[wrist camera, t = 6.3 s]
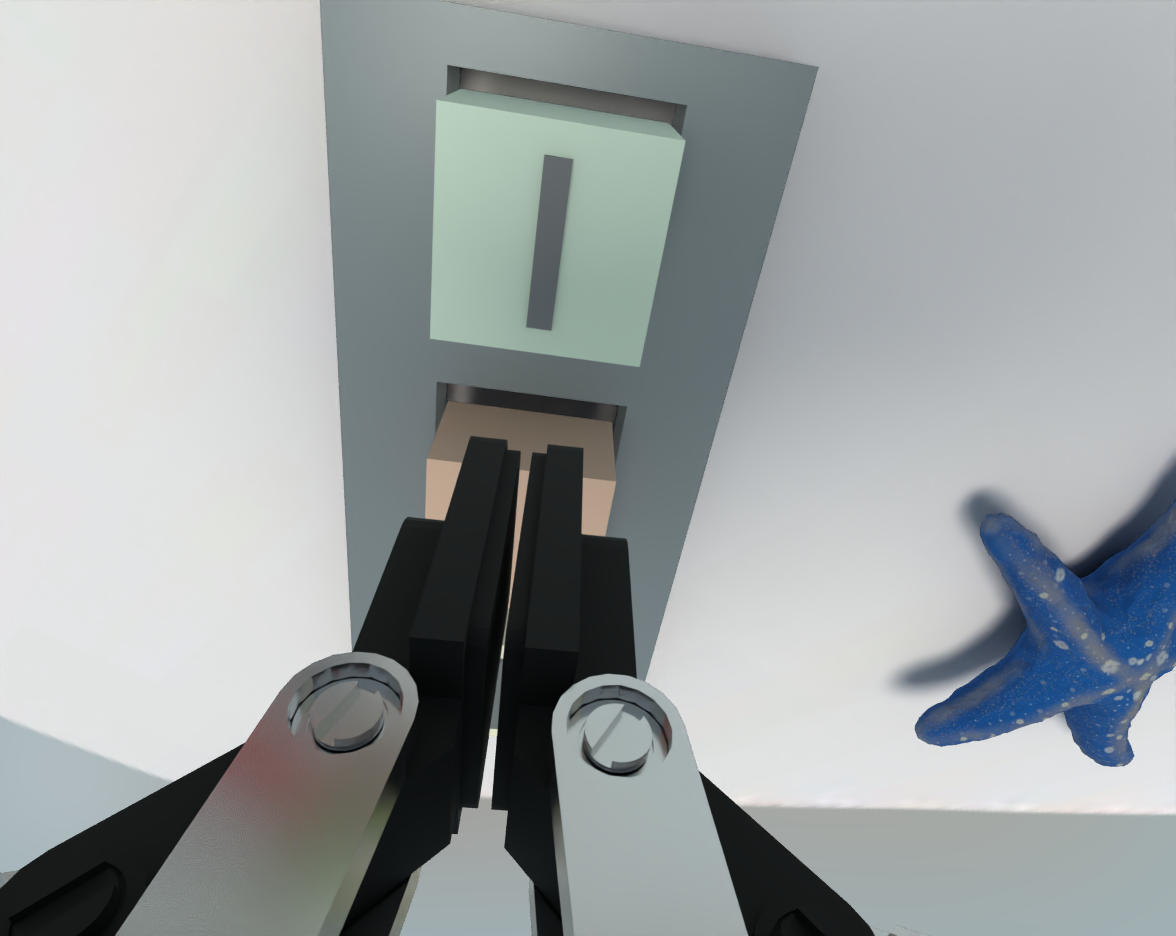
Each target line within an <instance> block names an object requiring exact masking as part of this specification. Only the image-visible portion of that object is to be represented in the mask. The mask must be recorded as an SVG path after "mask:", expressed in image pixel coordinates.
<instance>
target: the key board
mask: <svg viewBox="0 0 1176 936" xmlns="http://www.w3.org/2000/svg"><path fill="white" fill-rule="evenodd" d="M320 14H321V34H322V54H323V75H324V95H325V115H326V135H327V155H328V175H329V196H330V216H331V236H332V256H333V276H334V296H335V317H336V337H337V357H338V377H339V397H340V417H341V438H342V458H343V478H344V498H345V518H346V538H347V558H348V579H349V599H350V619H351V639H352V651H353V649H354V646H355V644H356V641H357V639H358V636H359V633H360V631H361V628H362V626H363V623H364V621H365V618H366V615H367V613H368V610H369V608H370V605H371V603H372V600H373V597H374V595H375V592H376V590H377V587H378V585H379V582H380V579H381V577H382V574H383V572H384V569H385V567H386V564H387V561H388V559H389V556H390V554H391V551H392V549H393V546H394V543H395V541H396V538H397V536H398V533H399V531H400V528H401V526H402V524H403V522H404V520H405V519H406V518H407V517H415V518H425V504H426V467H427V457H428V454H429V451H430V448H431V446H432V443H433V440H434V438H435V435H436V432H437V430H438V427H439V424H440V421H441V419H442V416H443V413H444V411H445V408H446V395H447V383H450V384H458V385H466V386H473V387H481V388H488V389H496V390H504V391H511V392H519V393H527V394H534V395H542V396H550V397H557V398H565V399H573V400H580V401H588V402H595V403H603V404H611V405H618V411H617V416H616V422H615V427H614V432H613V443H614V457H615V471H616V485H615V490H614V495H613V500H612V505H611V510H610V515H609V520H608V525H607V530H606V534H605V536H606V537H616V538H626V539H627V542H628V550H629V565H630V580H631V595H632V610H633V625H634V640H635V655H636V670H637V679H639V680H642V681H644V682H645V679H646V676H647V672H648V669H649V665H650V662H651V658H652V655H653V651H654V648H655V644H656V640H657V637H658V633H659V630H660V626H661V623H662V619H663V616H664V612H665V609H666V605H667V602H668V598H669V594H670V591H671V587H672V584H673V580H674V577H675V573H676V570H677V566H678V563H679V559H680V556H681V552H682V549H683V545H684V541H685V538H686V534H687V531H688V527H689V524H690V520H691V517H692V513H693V510H694V506H695V503H696V499H697V495H698V492H699V488H700V485H701V481H702V478H703V474H704V471H705V467H706V464H707V460H708V457H709V453H710V449H711V446H712V442H713V439H714V435H715V432H716V428H717V425H718V421H719V418H720V414H721V411H722V407H723V404H724V400H725V396H726V393H727V389H728V386H729V382H730V379H731V375H732V372H733V368H734V365H735V361H736V358H737V354H738V350H739V347H740V343H741V340H742V336H743V333H744V329H745V326H746V322H747V319H748V315H749V312H750V308H751V304H752V301H753V297H754V294H755V290H756V287H757V283H758V280H759V276H760V273H761V269H762V266H763V262H764V259H765V255H766V251H767V248H768V244H769V241H770V237H771V234H772V230H773V227H774V223H775V220H776V216H777V213H778V209H779V205H780V202H781V198H782V195H783V191H784V188H785V184H786V181H787V177H788V174H789V170H790V167H791V163H792V159H793V156H794V152H795V149H796V145H797V142H798V138H799V135H800V131H801V128H802V124H803V121H804V117H805V114H806V110H807V106H808V103H809V99H810V96H811V92H812V89H813V85H814V82H815V78H816V75H817V71H818V68H819V67H815V66H810V65H804V64H798V63H793V62H787V61H781V60H776V59H770V58H764V57H759V56H753V55H747V54H742V53H736V52H730V51H725V50H719V49H713V48H708V47H702V46H696V45H691V44H685V43H679V42H674V41H668V40H662V39H656V38H651V37H645V36H639V35H634V34H628V33H622V32H617V31H611V30H605V29H600V28H594V27H588V26H583V25H577V24H571V23H566V22H560V21H554V20H549V19H543V18H537V17H532V16H526V15H520V14H515V13H509V12H503V11H498V10H492V9H486V8H481V7H475V6H469V5H464V4H458V3H452V2H446V1H441V0H320ZM460 67H463V68H469V69H475V70H481V71H487V72H492V73H498V74H504V75H510V76H516V77H522V78H528V79H534V80H540V81H546V82H552V83H558V84H564V85H570V86H575V87H581V88H587V89H593V90H599V91H605V92H611V93H617V94H623V95H629V96H635V97H641V98H647V99H653V100H658V101H664V102H670V103H676V109H675V115H674V120H673V125H672V127H673V128H674V129H675V130H676V131H677V132H678V133H679V134H680V135H681V137H682V138H683V139H684V140H685V141H686V142H685V147H684V151H683V156H682V161H681V166H680V171H679V176H678V181H677V186H676V191H675V196H674V201H673V205H672V210H671V215H670V220H669V225H668V230H667V235H666V240H665V245H664V250H663V255H662V259H661V264H660V269H659V274H658V279H657V284H656V289H655V294H654V299H653V304H652V309H651V313H650V318H649V323H648V328H647V333H646V338H645V343H644V348H643V353H642V358H641V363H640V367H635V366H628V365H620V364H613V363H606V362H598V361H591V360H584V359H576V358H569V357H562V356H554V355H547V354H539V353H532V352H525V351H517V350H510V349H503V348H495V347H488V346H481V345H473V344H466V343H459V342H451V341H444V340H436V339H430V319H431V282H432V245H433V208H434V171H435V134H436V100H437V99H440V98H442V97H444V96H446V95H449V94H451V93H453V92H455V91H458V90H460Z"/></svg>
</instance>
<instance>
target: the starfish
mask: <svg viewBox="0 0 1176 936" xmlns="http://www.w3.org/2000/svg"><path fill="white" fill-rule="evenodd" d="M980 536H981V538H982V541H983V544H984V546H985V548H986V550H987V552H988V554H989V555H990V556H991V557H992V559H993V560H994V561H995V562H996V564H997V565H998V567H999V568H1000V570H1001V573H1002V576H1003V578H1004V579H1005V581H1006V582H1007V584H1008V585H1009V586H1010V588H1011V589H1012V591H1013V593H1014V596H1015V598H1016V600H1017V602H1018V603H1019V605H1020V608H1021V610H1022V612H1023V615H1024V617H1025V619H1026V623H1027V627H1026V629H1025V631H1024V632H1022V633H1021V635H1020V638H1019V639H1018V640H1017V642H1016V643H1015V644H1014V646H1013V647H1012V648H1011V650H1010V651H1009V652H1008V654H1007V655H1006V656H1005V657H1004V658H1003V659H1002V660H1000V661H999V662H998V663H997V664H996V665H994V666H991V667H989V668H987V669H986V670H985V671H983V672H982V673H981V674H980V675H978V676H977V677H976V678H974V679H973V680H972V681H970V682H969V683H968V684H966V685H964V686H962V687H960V688H958V689H956V690H955V691H954V692H953V694H952V695H951V696H950V697H949V698H948V699H946V700H945V701H943V702H940V703H938V704H936V705H934V706H932V707H930V708H929V709H928V710H926V711H925V712H924V713H923V714H922V716H921V717H920V718H919V719H918V721H917V723H916V725H915V731H916V734H917V737H918V738H919V739H921V740H922V741H924V742H926V743H928V744H933V745H937V746H941V747H942V746H947V745H957V744H961V743H967V742H971V741H980V740H985V739H989V738H992V737H995V736H998V735H1000V734H1003V733H1008V732H1011V731H1013V730H1015V729H1018V728H1021V727H1024V726H1027V725H1030V724H1033V723H1038V722H1042V721H1043V720H1045V719H1047V718H1050V717H1052V716H1054V715H1055V714H1057V713H1061V712H1064V714H1065V718H1066V722H1067V725H1068V727H1069V728H1070V730H1071V732H1072V736H1073V740H1074V742H1075V743H1076V744H1077V745H1078V746H1079V747H1080V749H1081V751H1082V752H1083V753H1084V754H1085V755H1087V756H1088V757H1090V758H1091V759H1093V760H1094V761H1095V762H1096V763H1098V764H1100V765H1103V766H1110V767H1119V766H1125V765H1128V764H1129V763H1130V762H1131V761H1132V759H1133V757H1134V754H1133V751H1132V748H1131V745H1130V743H1129V741H1128V739H1127V738H1128V729H1129V728H1130V727H1131V720H1132V719H1133V718H1134V717H1135V716H1136V714H1137V713H1138V711H1139V710H1140V708H1141V705H1142V703H1143V701H1144V699H1145V698H1146V696H1147V695H1148V693H1149V690H1150V687H1151V684H1152V683H1153V681H1155V680H1157V679H1158V678H1160V677H1161V676H1162V675H1164V674H1165V673H1167V672H1170V671H1172V669H1173V668H1174V667H1175V666H1176V499H1175V501H1174V502H1173V503H1172V505H1171V506H1170V507H1169V509H1168V510H1167V511H1166V513H1165V514H1164V515H1163V516H1161V517H1160V518H1159V519H1158V520H1157V521H1156V522H1155V523H1154V524H1153V525H1152V526H1151V527H1150V528H1149V529H1148V530H1146V531H1145V532H1144V533H1143V534H1142V536H1141V537H1139V538H1138V539H1137V540H1136V541H1135V542H1134V543H1132V544H1131V545H1130V546H1129V547H1128V548H1127V549H1125V550H1123V551H1121V552H1119V553H1117V554H1115V555H1114V556H1112V557H1111V558H1109V559H1107V560H1106V561H1105V562H1104V563H1103V564H1102V565H1101V566H1100V567H1099V568H1097V569H1096V570H1095V571H1094V572H1092V573H1091V574H1089V575H1088V576H1086V577H1083V578H1078V577H1077V576H1076V575H1075V574H1074V573H1073V572H1072V571H1070V570H1069V569H1068V568H1067V567H1066V566H1065V565H1064V564H1063V563H1062V562H1061V560H1060V559H1059V558H1058V557H1057V556H1056V555H1055V554H1054V553H1052V552H1051V551H1050V550H1048V549H1047V548H1046V547H1044V546H1043V545H1042V543H1041V542H1040V540H1039V538H1038V537H1037V535H1036V534H1034V533H1032V532H1031V531H1029V530H1027V529H1025V528H1024V527H1023V526H1022V525H1021V524H1019V523H1018V522H1017V521H1016V520H1015V519H1013V518H1012V517H1011V516H1009V515H1006V514H1004V513H998V514H991V515H988V516H987V517H986V518H985V520H984V521H983V522H982V525H981V527H980Z"/></svg>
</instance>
